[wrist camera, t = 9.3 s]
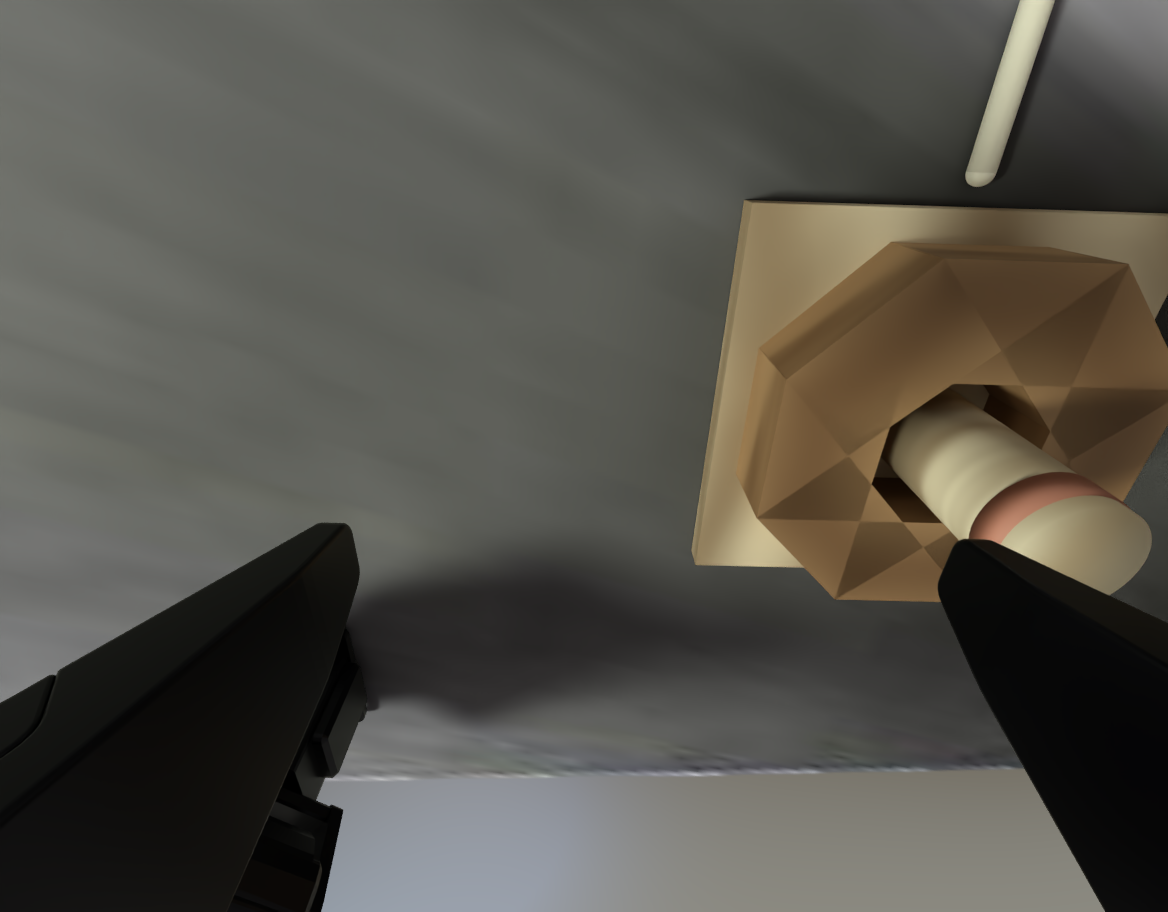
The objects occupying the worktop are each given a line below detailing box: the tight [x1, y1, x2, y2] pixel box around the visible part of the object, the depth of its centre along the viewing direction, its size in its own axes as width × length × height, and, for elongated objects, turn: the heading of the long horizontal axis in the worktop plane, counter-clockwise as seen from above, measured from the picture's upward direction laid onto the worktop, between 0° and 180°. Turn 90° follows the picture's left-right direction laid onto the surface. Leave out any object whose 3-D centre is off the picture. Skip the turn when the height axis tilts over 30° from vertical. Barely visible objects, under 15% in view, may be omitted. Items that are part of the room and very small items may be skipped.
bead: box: [736, 242, 1168, 602], centre depth 19 cm, size 12×12×3 cm
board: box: [692, 200, 1168, 568], centre depth 21 cm, size 14×14×1 cm
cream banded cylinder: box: [880, 387, 1152, 595], centre depth 17 cm, size 3×3×8 cm
